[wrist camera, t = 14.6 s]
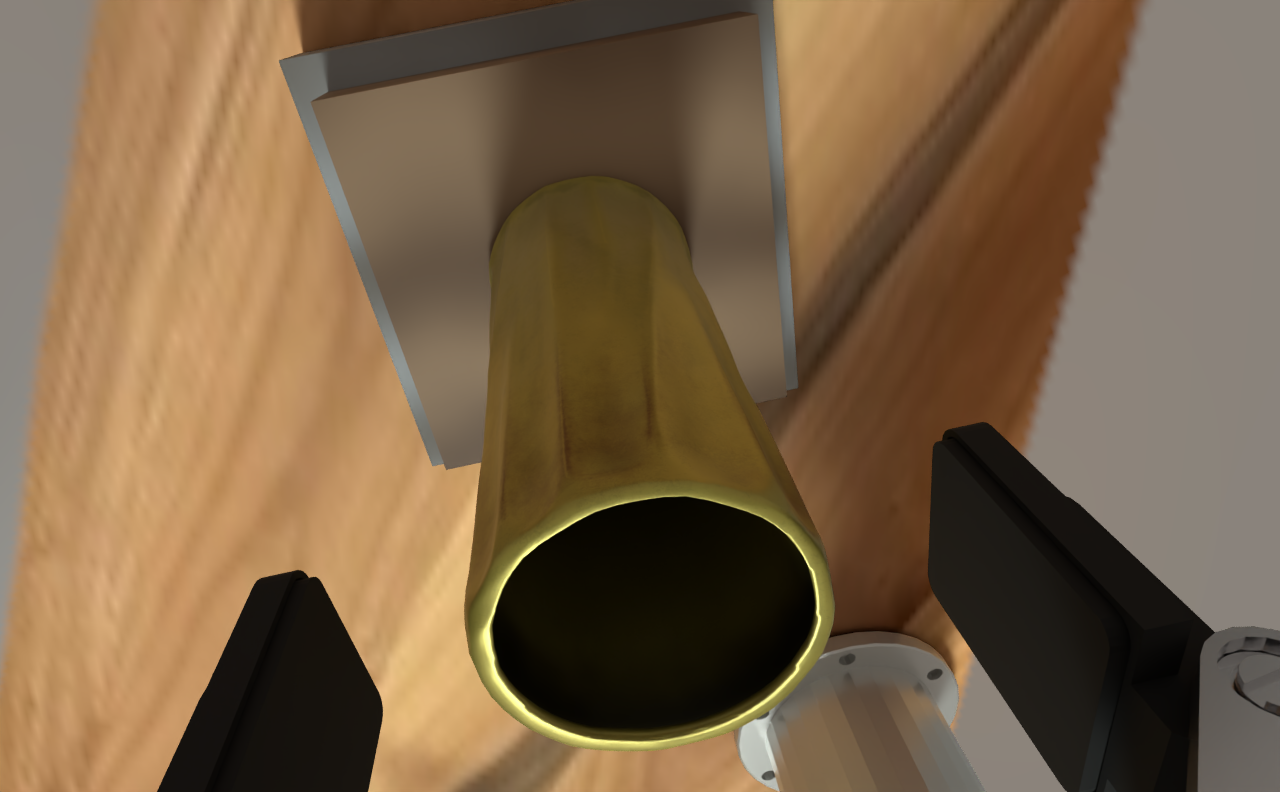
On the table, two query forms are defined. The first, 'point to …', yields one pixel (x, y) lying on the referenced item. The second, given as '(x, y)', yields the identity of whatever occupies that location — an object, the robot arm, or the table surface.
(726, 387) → the vase
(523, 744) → the table surface
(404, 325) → the stand
